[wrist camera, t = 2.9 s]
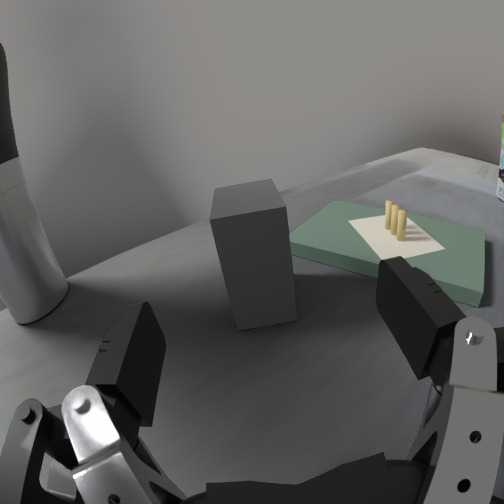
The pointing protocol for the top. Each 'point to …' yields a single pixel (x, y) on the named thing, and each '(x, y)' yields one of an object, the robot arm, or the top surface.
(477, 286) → the board
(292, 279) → the dark grey rectangular block
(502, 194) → the tea box
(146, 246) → the top surface
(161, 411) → the top surface
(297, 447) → the top surface
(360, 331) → the top surface
